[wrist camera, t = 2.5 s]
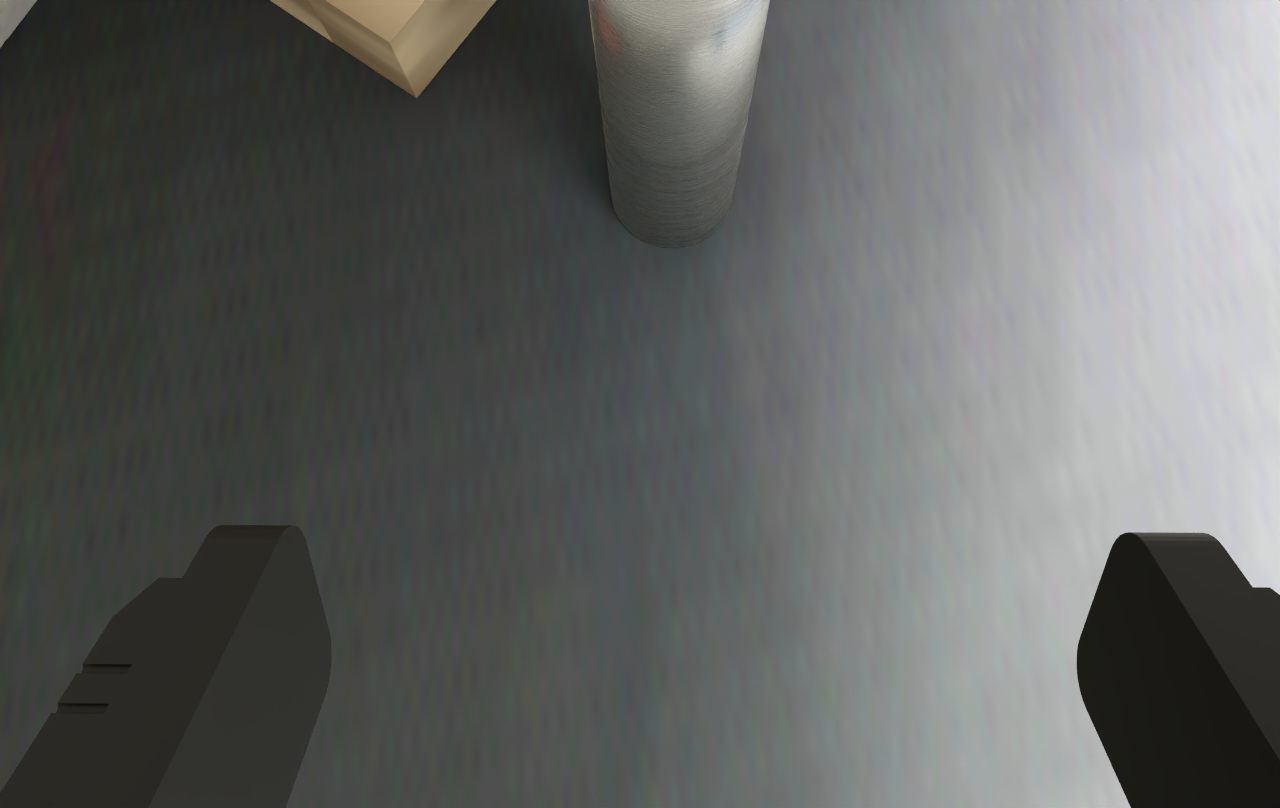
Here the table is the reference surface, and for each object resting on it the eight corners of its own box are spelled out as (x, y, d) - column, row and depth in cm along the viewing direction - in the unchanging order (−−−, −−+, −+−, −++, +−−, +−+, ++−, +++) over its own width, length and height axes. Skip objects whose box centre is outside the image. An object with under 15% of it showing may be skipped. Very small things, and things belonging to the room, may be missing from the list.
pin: (657, 111, 29) (656, -323, 15) (756, 176, 29) (848, -213, 15) (586, 204, 29) (520, -160, 15) (686, 271, 28) (715, -40, 14)
